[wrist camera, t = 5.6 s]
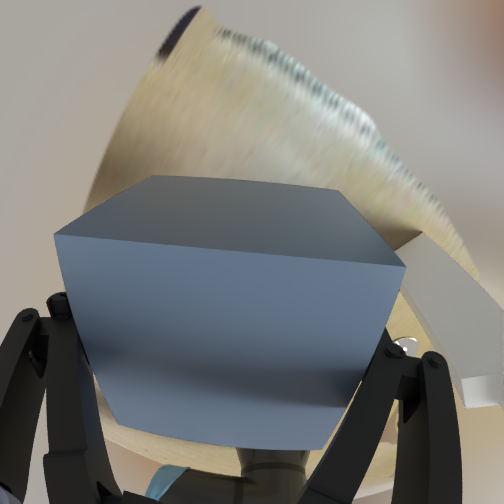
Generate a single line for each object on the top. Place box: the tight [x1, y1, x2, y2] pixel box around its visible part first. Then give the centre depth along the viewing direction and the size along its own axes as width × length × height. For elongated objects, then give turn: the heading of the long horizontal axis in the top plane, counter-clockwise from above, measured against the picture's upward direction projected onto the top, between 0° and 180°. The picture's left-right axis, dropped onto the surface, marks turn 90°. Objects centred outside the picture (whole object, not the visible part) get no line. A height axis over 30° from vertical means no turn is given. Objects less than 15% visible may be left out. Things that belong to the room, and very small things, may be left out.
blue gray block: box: [54, 175, 407, 450], centre depth 13 cm, size 10×10×9 cm
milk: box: [394, 232, 504, 411], centre depth 22 cm, size 6×6×22 cm
